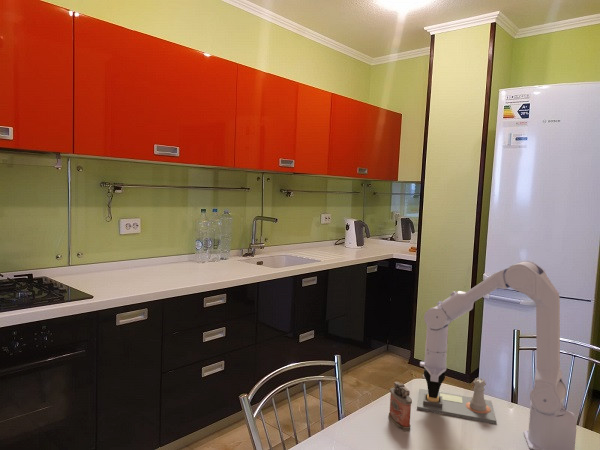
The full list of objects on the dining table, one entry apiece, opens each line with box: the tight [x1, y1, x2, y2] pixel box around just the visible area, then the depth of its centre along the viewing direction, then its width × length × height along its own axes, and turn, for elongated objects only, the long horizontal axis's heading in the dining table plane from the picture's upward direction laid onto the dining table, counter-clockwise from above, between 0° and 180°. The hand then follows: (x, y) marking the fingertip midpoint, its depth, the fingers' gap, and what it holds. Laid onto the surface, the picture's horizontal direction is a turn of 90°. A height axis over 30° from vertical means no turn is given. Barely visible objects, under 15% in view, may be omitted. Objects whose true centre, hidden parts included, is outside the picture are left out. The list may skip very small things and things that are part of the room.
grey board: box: [416, 388, 497, 425], centre depth 123 cm, size 20×12×2 cm, turn 72°
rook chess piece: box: [469, 377, 487, 411], centre depth 120 cm, size 4×4×8 cm
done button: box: [427, 394, 439, 403], centre depth 123 cm, size 3×3×2 cm
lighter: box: [388, 381, 413, 432], centre depth 112 cm, size 8×3×10 cm, turn 17°
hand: (432, 396), depth 122 cm, fingers closed, pressing on done button
